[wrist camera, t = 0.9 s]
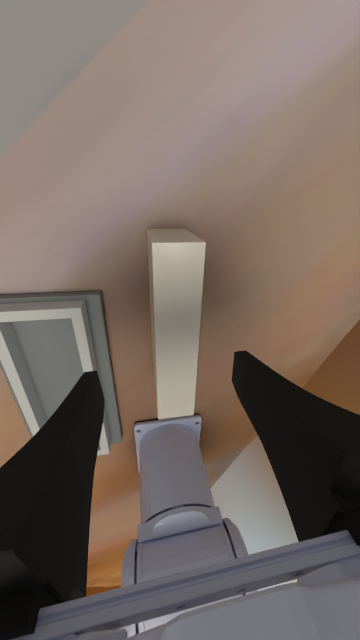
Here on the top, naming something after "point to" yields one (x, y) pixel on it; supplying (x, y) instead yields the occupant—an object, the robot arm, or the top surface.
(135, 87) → the top surface
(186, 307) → the long cream rectangular block
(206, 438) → the top surface
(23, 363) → the stepped grey tray
